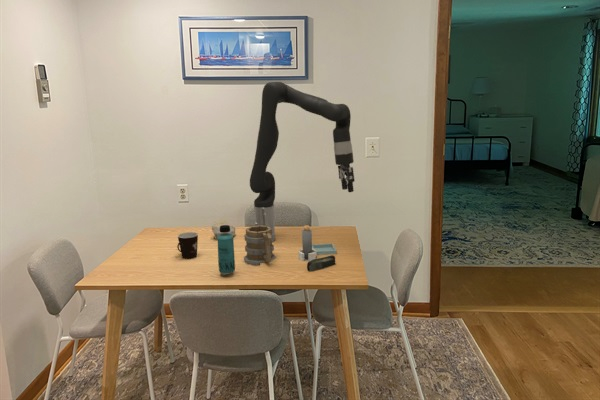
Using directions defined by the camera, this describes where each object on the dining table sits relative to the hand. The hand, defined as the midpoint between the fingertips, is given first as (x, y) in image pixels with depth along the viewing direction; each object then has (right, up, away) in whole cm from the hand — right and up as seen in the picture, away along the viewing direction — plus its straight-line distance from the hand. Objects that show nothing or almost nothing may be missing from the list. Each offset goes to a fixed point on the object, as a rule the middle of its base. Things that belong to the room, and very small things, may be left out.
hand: (347, 190), depth 198 cm
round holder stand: (-17, -29, 0) cm, 34 cm away
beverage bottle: (-49, -34, -13) cm, 61 cm away
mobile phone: (-12, -32, -11) cm, 36 cm away
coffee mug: (-70, -29, +7) cm, 76 cm away
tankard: (-36, -31, -1) cm, 47 cm away
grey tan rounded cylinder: (-17, -28, 0) cm, 33 cm away
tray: (-10, -27, +9) cm, 30 cm away
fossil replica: (-58, -23, +35) cm, 71 cm away
